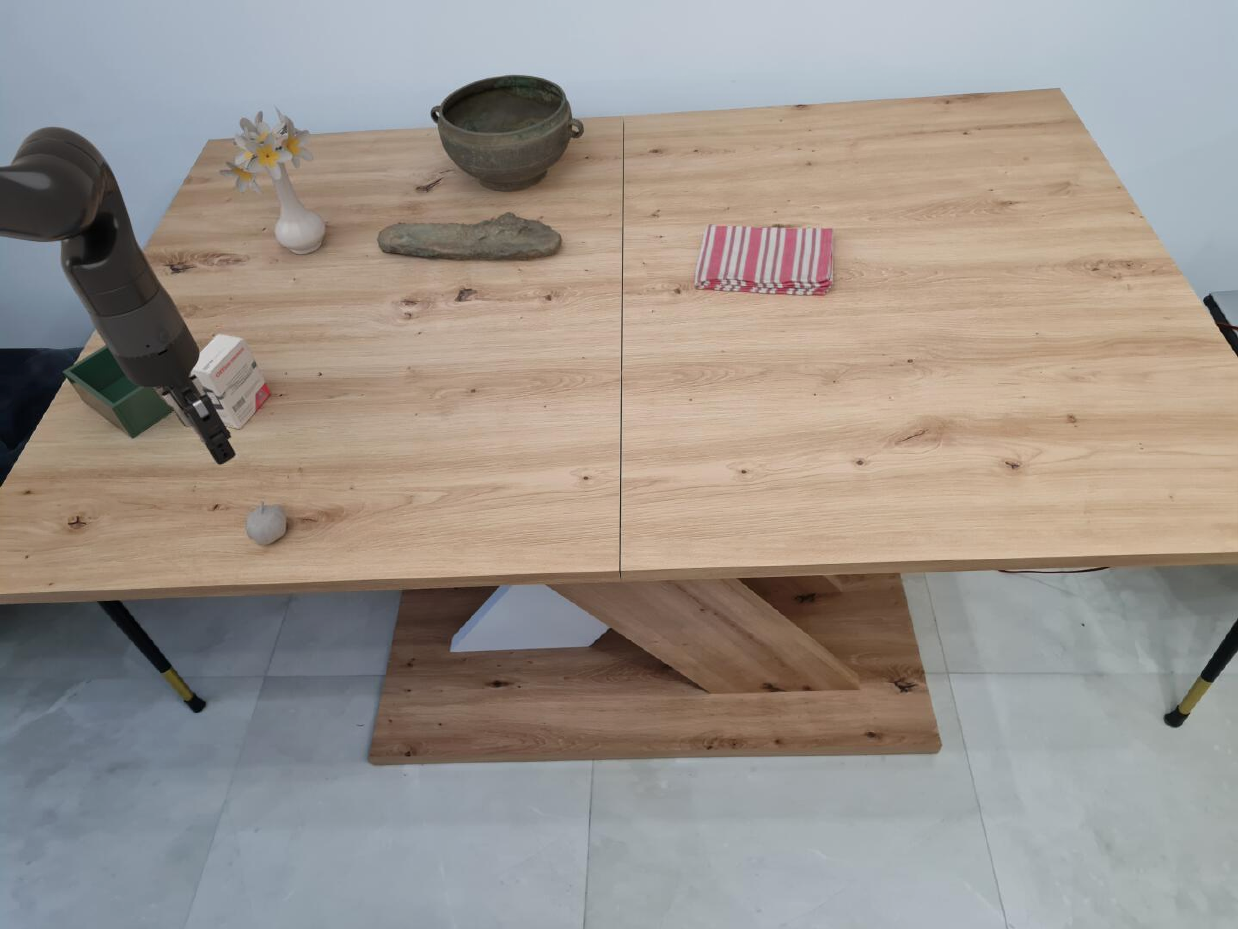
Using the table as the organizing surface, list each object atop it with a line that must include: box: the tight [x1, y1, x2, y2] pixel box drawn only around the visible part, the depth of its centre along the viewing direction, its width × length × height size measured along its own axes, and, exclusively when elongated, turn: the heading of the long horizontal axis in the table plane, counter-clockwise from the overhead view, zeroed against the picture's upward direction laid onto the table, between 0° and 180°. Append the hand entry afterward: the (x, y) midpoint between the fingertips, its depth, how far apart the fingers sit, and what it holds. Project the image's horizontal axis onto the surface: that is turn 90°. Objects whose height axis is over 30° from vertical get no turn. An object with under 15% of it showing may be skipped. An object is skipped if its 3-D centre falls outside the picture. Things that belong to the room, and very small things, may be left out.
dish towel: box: [693, 223, 834, 296], centre depth 156 cm, size 17×23×4 cm
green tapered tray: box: [62, 344, 175, 440], centre depth 143 cm, size 15×15×7 cm
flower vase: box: [218, 104, 327, 255], centre depth 161 cm, size 13×18×25 cm
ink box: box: [191, 333, 272, 430], centre depth 137 cm, size 8×5×12 cm, turn 160°
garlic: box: [245, 501, 287, 546], centre depth 122 cm, size 6×5×5 cm
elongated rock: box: [376, 211, 563, 261], centre depth 165 cm, size 35×5×10 cm
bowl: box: [430, 74, 585, 193], centre depth 178 cm, size 32×26×15 cm
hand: (209, 440), depth 103 cm, fingers open, 8 cm apart
